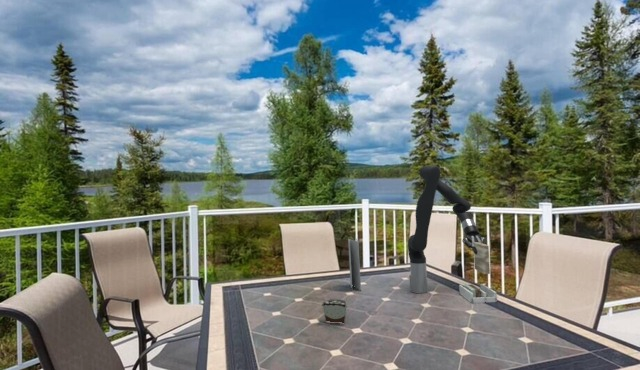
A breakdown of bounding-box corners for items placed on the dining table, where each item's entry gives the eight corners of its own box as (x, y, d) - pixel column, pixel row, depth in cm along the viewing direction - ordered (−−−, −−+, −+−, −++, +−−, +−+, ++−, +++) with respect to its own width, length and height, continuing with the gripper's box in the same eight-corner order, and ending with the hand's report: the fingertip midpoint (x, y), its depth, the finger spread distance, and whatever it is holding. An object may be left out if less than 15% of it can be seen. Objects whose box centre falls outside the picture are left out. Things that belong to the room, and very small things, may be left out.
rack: (471, 303, 194) (471, 293, 194) (459, 293, 211) (459, 284, 211) (496, 301, 194) (496, 292, 194) (482, 292, 211) (482, 283, 211)
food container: (351, 320, 178) (350, 299, 178) (347, 324, 172) (346, 303, 172) (326, 318, 182) (325, 298, 182) (322, 322, 176) (321, 301, 176)
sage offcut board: (472, 301, 197) (471, 289, 197) (464, 295, 207) (464, 284, 207) (476, 301, 197) (475, 289, 197) (468, 295, 207) (468, 284, 207)
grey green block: (476, 301, 197) (476, 289, 197) (469, 295, 207) (468, 284, 207) (480, 300, 197) (479, 289, 197) (472, 295, 207) (472, 284, 207)
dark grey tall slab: (361, 290, 226) (358, 241, 226) (351, 291, 226) (349, 242, 226) (359, 284, 240) (356, 238, 240) (350, 285, 240) (348, 238, 240)
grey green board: (484, 274, 196) (482, 245, 196) (474, 268, 208) (473, 242, 208) (489, 273, 196) (488, 245, 196) (480, 268, 208) (478, 242, 208)
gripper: (459, 225, 214) (468, 250, 202) (483, 224, 214) (494, 248, 201) (456, 233, 219) (465, 257, 207) (480, 232, 219) (490, 256, 207)
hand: (479, 253), depth 204 cm, fingers closed on grey green board, 3 cm apart
